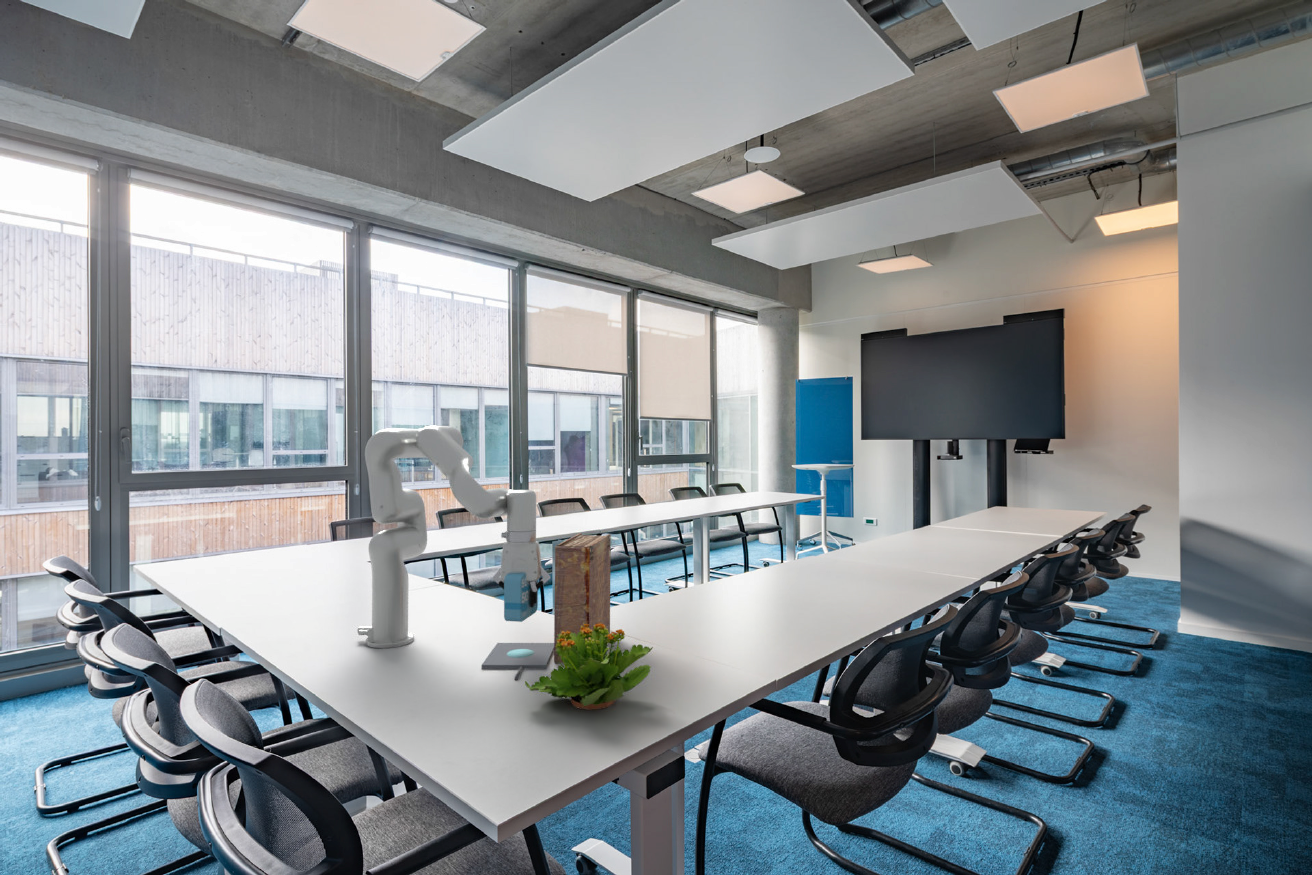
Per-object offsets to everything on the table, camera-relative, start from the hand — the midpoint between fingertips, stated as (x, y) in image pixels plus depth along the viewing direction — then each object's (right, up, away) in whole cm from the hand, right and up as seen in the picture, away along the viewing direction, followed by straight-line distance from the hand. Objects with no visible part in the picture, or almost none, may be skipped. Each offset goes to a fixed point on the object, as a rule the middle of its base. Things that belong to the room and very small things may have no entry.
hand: (521, 605), depth 173 cm
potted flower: (+22, -14, -29) cm, 39 cm away
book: (+16, -14, +7) cm, 22 cm away
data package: (0, -3, 0) cm, 3 cm away
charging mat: (0, -14, -4) cm, 14 cm away
